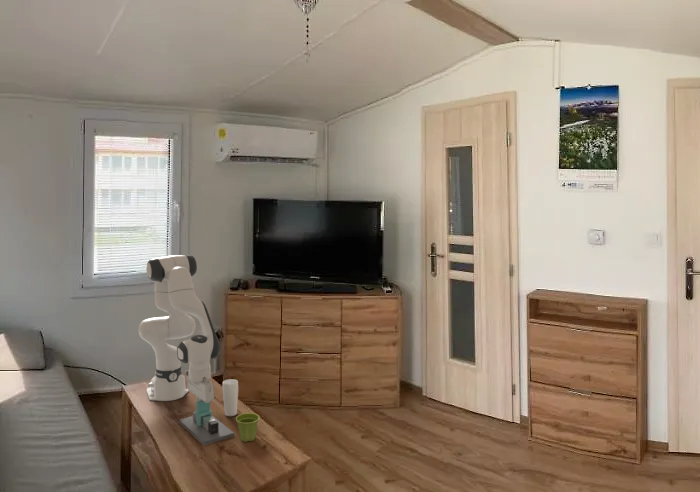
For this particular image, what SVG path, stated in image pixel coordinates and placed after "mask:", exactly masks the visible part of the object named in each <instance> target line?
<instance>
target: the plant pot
mask: <svg viewBox="0 0 700 492" xmlns="http://www.w3.org/2000/svg"><path fill="white" fill-rule="evenodd" d="M259 420H260V415H259V414H257V413H253V412H246V413H241V414H239V415H237V416H236V417H235V422H236V424H237V429H238V434H239V439H240V441H242V442H244V443H247V442H253V441H254V440H255V439H256V435H257V428H258V423H259Z"/></svg>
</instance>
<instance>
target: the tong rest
mask: <svg viewBox="0 0 700 492" xmlns="http://www.w3.org/2000/svg"><path fill="white" fill-rule="evenodd" d="M212 418H213V419H214V420H216V421H217V422H218V430H219V432H218V433H214V434H211V433H209V432H208V431H207V430H206V429H205V428H204V427H202V426H198V425H197V421H196V410H194V411H192V415H191V416H188V417H185V418H184V417H183V418H179V419H178V420H179V421H178V423H179V425H181V426H182V427H183V428H184V429H185V430H186V431H187V432H188V433H189V434H191V436H193V437H194V438H195V439H196V440H197V441H198V442H199V443H200V444H201V445H202V446H207V445H209V444H213V443H216V442H217V443H218V442H220V441H223V440H227V439H230V438H235V432H234V431H233V430H231V429H230V428H229V427H227V426H226V425H225V424H224V423H223V422H221V421H220V420H219V419H217V418H216V417H215V416H214V415H212Z"/></svg>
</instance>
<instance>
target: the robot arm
mask: <svg viewBox="0 0 700 492" xmlns="http://www.w3.org/2000/svg"><path fill="white" fill-rule="evenodd" d="M197 269H198V263H197V261H196V258H195V257H194V255H191V254H183V255H182V254H179V255H178V254H173V255H168V256H167V255H166V256H161V257H154V258H151V259H149V260H148V262H147V263H146V269H145V270H146V274H147V276H148V279H150V280H151V281H153V282H154V305H155V307H156V308H157V309H159V310H160V311H163V312H165V313H167V314H168V315H167V316H157V317H150V318H146V319H143V320H141V322H140V323H139V326H138V334H139V337H140V338H141V339H142V340H143V341H145V342H146V343H148V344H149V345H150V346H151V348H152V349H153V351H154V354H155V364H156V368H155V370H154V376H153V377H152V378H151V379H150V380H151V381H150V382H148V387H147V388H146V391H145V392H146V394H147V396H148V400H149V401H159V402H171V401H175V400H179V399H181V398H183V397H184V396H186V394H188V393H189V392H190V393H191V394H193V395H194V396H195V399H196V402H198V401H203V402H205V403H210V404H211V403H213V402H214V400H215V394H214V393H215V392H214V386H213V383H212V382H211V381H210V380H211V378H212V372H211V371H212V366H211V363H210V361H211V360H215V359H216V358H217V357H218V356H219V355H220V353H221V351H222V345H221V343H220V340H219V338H218V336H217V334H216V331H215V329H214V328H215V327H214V325H213V323H212V320H211V316H210V314H209V312H208V309H207V307H206V304H205V302H204V301H202V300H201V299H200V298H199V297H198V296H197V294H196V290H195V285H194V281H193V276H195V274H196V273H197ZM192 316H193V317H195V318H197V320H198V322H199V324H200V328H201V331H202V334H196V335H193V334H194V333H195V331H196V327H197V325H196V321H195V319H194V318H193V317H192ZM187 337H190V338H189V339H186V340H183V341H181V342H180V343H179V344H178V346H174V345H171V344H169V343H167V341H169V340H176V339H177V340H178V339H184V338H187ZM181 362H182V363H181ZM183 363H184V364H188V365H189V366H188V369H185V375H183V373H182V372H183V371H182V370H183V368H182V365H181V364H183ZM185 376H186V377H185ZM186 387H187V388H186Z"/></svg>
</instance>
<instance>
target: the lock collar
mask: <svg viewBox="0 0 700 492" xmlns="http://www.w3.org/2000/svg"><path fill="white" fill-rule="evenodd" d="M195 405H196V407H195V409H196V410H195V411H196V421H197V425H198V426H201V416H205V415H209V416H211V417H212V416H213V413H212V412H213V411H212V410H211V402H210V403H205V402H203V401H198V402H197V401H195Z"/></svg>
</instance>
